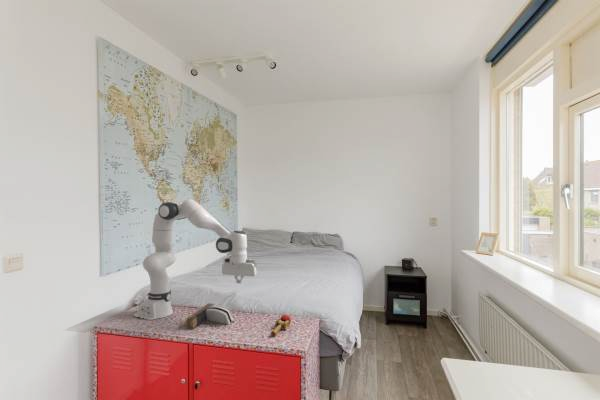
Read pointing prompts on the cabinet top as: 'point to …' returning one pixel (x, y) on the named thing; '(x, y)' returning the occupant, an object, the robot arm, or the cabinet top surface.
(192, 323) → the frame block
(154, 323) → the cabinet top surface
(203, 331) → the cabinet top surface
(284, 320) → the kendama
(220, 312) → the grey rounded case
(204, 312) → the mounting plate
